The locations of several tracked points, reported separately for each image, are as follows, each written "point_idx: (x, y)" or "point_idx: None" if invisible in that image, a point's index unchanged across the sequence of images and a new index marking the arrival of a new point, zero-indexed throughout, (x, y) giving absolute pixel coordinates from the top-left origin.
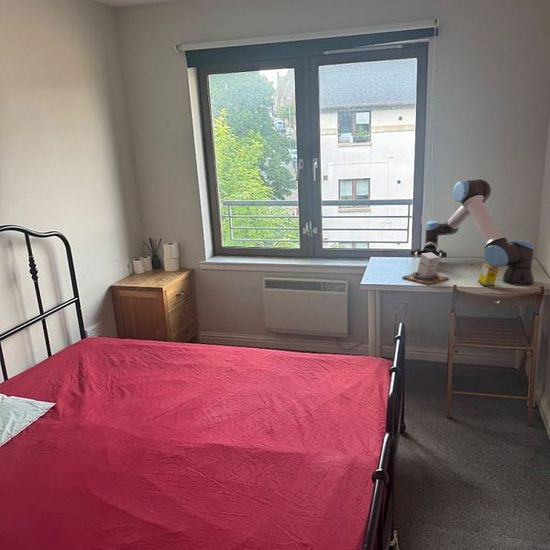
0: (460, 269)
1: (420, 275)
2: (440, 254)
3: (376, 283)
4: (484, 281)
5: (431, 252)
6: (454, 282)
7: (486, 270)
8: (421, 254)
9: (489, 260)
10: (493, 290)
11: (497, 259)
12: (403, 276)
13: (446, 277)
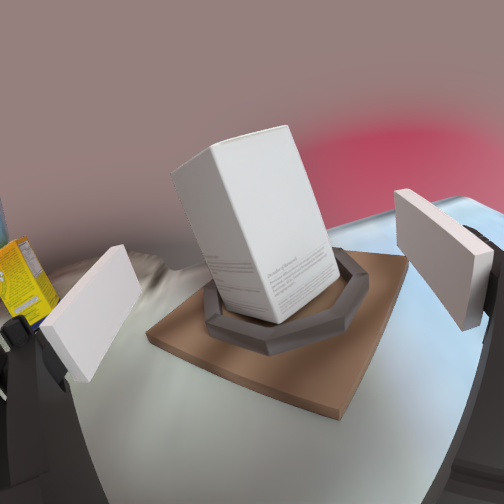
0: None
1: (322, 308)
2: (91, 271)
3: (447, 207)
4: (52, 288)
5: (210, 146)
6: (139, 314)
7: (30, 251)
8: (287, 131)
9: (4, 223)
10: (61, 288)
11: (2, 209)
12: (406, 260)
13: (158, 329)
